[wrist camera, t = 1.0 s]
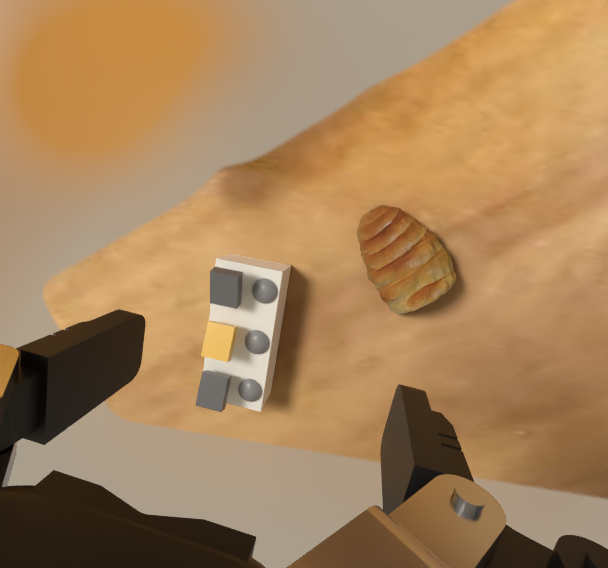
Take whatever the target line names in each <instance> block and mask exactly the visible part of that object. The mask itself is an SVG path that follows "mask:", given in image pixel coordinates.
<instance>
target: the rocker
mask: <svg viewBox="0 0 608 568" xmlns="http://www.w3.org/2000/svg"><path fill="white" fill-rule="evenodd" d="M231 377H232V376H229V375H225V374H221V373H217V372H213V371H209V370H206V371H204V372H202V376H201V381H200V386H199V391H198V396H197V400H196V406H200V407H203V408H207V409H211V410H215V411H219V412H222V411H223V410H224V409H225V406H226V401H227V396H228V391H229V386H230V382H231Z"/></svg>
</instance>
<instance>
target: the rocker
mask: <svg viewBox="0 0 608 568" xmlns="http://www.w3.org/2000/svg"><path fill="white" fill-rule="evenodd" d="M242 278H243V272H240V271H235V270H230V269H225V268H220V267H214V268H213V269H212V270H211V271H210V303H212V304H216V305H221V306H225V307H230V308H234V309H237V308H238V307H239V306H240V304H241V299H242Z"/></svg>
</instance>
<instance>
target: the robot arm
mask: <svg viewBox="0 0 608 568" xmlns="http://www.w3.org/2000/svg"><path fill="white" fill-rule="evenodd" d="M144 333H145V318H144V317H143V316H142V315H139V314H135V313H131V312H128V311H124V310H120V309H119V310H115V311H113V312H111V313H108V314H106V315H103V316H101V317H98V318H96V319H94V320H91V321H87V322H81V323H78V324H75V325H73V326H71V327H68V328H66V329H65V330H61V331H58V332H56V333H54V334H53V335H48V336H46V337H44V338H41V339H38V340H36V341H33V342H31V343H29V344H26V345H23V346H21V347H19V348H16V349H15V348H13V347H10V346H8V345H3V344H0V568H265V567H264V566H263V565H262V564H261V563H259V562H258V561H256V560H255V559H253V558H252V554H253V550H254V545H255V541H256V537H255V536H252V535H249V534H246V533H243V532H240V531H237V530H234V529H231V528H228V527H225V526H222V525H219V524H216V523H213V522H210V521H207V520H203V519H191V518H179V517H168V516H157V515H147V514H143V513H140V512H139V511H137V510H136V509H134V508H133V507H131V506H130V505H129V504H127V503H126V502H124V501H123V500H121V499H120V498H118V497H117V496H115V495H114V494H112V493H111V492H109V491H108V490H106V489H105V488H104V487H102V486H100V485H97V484H94V483H91V482H88V481H85V480H82V479H79V478H76V477H73V476H70V475H67V474H64V473H61V472H58V471H55V470H53V471H52V472H51V473H50V474H49V475H47V476H46V477H45V478H44V479H43V480H42V481H40V482H39V483H38V484H37V485H36V486H28V485H27V486H7V485H8V481H9V477H10V474H11V471H12V467H13V464H14V460H15V456H16V447H17V445H16V444H17V441H19V440H20V439H22V438H24V439H27V440H31V441H34V442H37V443H40V444H43V445H45V444H46V443H48V442H49V441H50V440H52V439H53V438H54V437H56V436H57V435H58V434H60V433H61V432H63V431H64V430H65V429H66V428H68V427H69V426H71V425H72V424H73V423H75V422H76V421H78V420H79V419H80V418H82V417H83V416H84V415H86V414H87V413H88V412H90V411H91V410H92V409H94V408H95V407H96V406H98V405H99V404H101V403H102V402H103V401H105V400H106V399H107V398H109V397H110V396H112V395H113V394H114V393H116V392H117V391H118V390H120V389H121V388H122V387H124V386H125V385H126V384H128V383H129V382H131V381H132V380H133V379H134V377H135V376H136V374H137V373H138V371H139V368H140V365H141V360H142V351H143V342H144ZM381 472H382V473H381V475H382V496H383V510H382V509H381V508H380V507H379V506H372V507H370V508H368V509H367V510H365V511H364V512H362V513H361V514H360V515H358V516H357V517H356V518H354V519H353V520H351V521H350V522H349V523H347V524H346V525H345V526H343V527H342V528H340V529H339V530H338V531H336V532H335V533H334V534H332V535H331V536H329V537H328V538H327V539H325V540H324V541H322V542H321V543H320V544H318V545H317V546H316V547H314V548H313V549H312V550H310V551H309V552H307V553H306V554H305V555H303V556H302V557H301V558H299V559H298V560H296V561H295V562H294V563H292V564H291V565H289V566H288V567H287V568H608V549H606V548H604V547H603V546H601V545H599V544H597V543H595V542H593V541H591V540H588V539H586V538H583V537H579V536H574V535H565V536H562V537H560V538H559V539H558V541H557V543H556V545H555V547H554V550H551V549H549V548H547V547H545V546H543V545H541V544H539V543H537V542H535V541H533V540H531V539H529V538H528V537H526V536H524V535H522V534H520V533H519V532H517V531H515V530H513V529H512V528H510V527H509V526H507V525H506V516H505V513H504V510H503V509H502V507H501V505H500V504H499V503H498V501H497V500H496V499H495V498H494V497H493V496H492V495H491V494H490V493H489V492H487V491H486V490H485V489H483V488H482V487H481V486H479V485H478V484H476V483H474V480H473V478H472V475H471V472H470V470H469V467H468V465H467V462H466V459H465V457H464V454H463V452H462V451H461V446H460V444H459V441H458V440H457V436H456V433H455V430H454V428H453V425H452V424H451V423H450V422H449V421H448V420H447V419H446V418H445V417H444V416H443V415H442V413H439V412H435V411H432V410H431V408H430V405H429V401H428V398H427V395H426V392H425V391H423V390H419V389H415V388H411V387H408V386H404V385H400V384H399V385H398V387H397V389H396V392H395V395H394V398H393V402H392V405H391V409H390V412H389V415H388V419H387V422H386V426H385V429H384V433H383V437H382V443H381Z"/></svg>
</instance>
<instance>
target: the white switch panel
mask: <svg viewBox="0 0 608 568" xmlns="http://www.w3.org/2000/svg"><path fill="white" fill-rule="evenodd" d="M215 267H220V268H225V269H230V270H235V271H240V272H243V278H242V299H241V304H240V306H239V307H238V308H237V309H234V308H230V307H225V306H221V305H216V304H212V303H211V309H210V318H209V321H216V322H220V323H225V324H229V325H234V326H238V330H237V335H236V340H235V344H234V349H233V354H232V359H231V361H229V362H225V361H221V360H216V359H212V358H208V357H205V362H204V371H206V370H209V371H213V372H217V373H221V374H225V375H229V376H232V377H231V382H230V386H229V391H228V396H227V401H226V403H228V404H232V405H236V406H240V407H244V408H248V409H252V410H256V411H259V412H261V410H262V409H263V407H264V405H265V403H266V401H267V399H268V397H269V396H270V394H271V389H272V383H273V376H274V370H275V364H276V358H277V352H278V345H279V339H280V333H281V327H282V321H283V314H284V308H285V302H286V296H287V290H288V283H289V277H290V271H291V265H288V264H283V263H278V262H273V261H267V260H262V259H257V258H252V257H247V256H242V255H237V254H232V253H231V254H228V255H225V256H222V257H219V258H216V265H215ZM204 371H203V372H204Z"/></svg>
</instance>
